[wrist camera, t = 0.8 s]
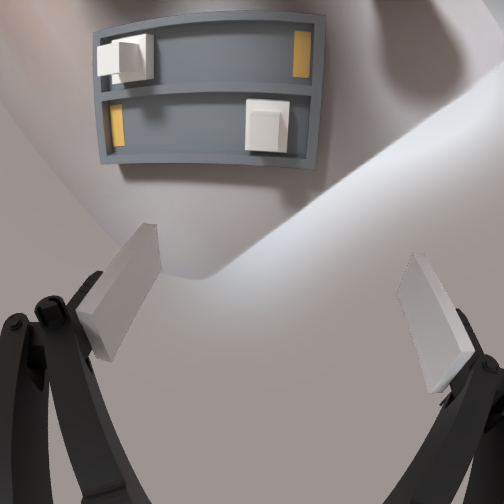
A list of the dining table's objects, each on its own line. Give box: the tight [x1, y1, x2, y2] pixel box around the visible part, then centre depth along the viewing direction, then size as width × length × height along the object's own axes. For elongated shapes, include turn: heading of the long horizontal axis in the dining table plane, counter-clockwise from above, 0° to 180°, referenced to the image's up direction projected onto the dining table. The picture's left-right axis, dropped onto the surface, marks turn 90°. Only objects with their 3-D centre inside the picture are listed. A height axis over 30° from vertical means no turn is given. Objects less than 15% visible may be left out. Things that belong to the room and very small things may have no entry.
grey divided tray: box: [93, 11, 326, 170], centre depth 28 cm, size 16×24×4 cm, turn 88°
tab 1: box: [97, 34, 154, 84], centre depth 23 cm, size 5×4×6 cm
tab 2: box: [245, 99, 290, 153], centre depth 26 cm, size 5×4×6 cm
